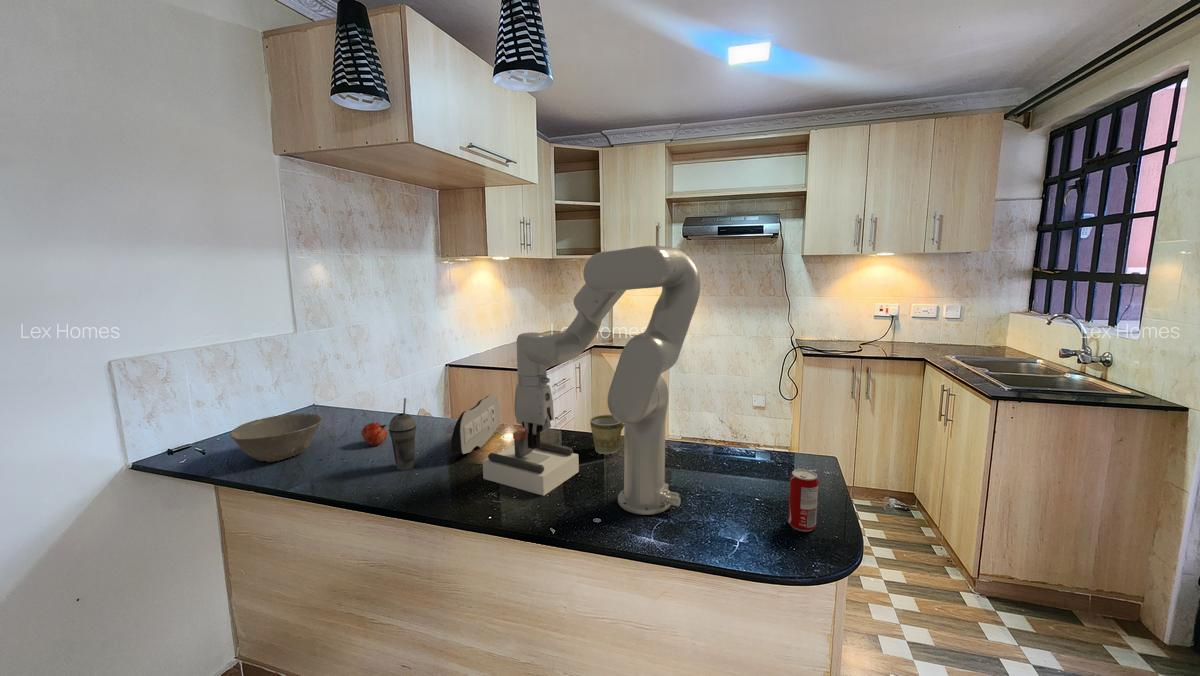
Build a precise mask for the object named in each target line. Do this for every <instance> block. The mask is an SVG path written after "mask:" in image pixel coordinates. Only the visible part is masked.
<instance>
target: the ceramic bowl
mask: <svg viewBox="0 0 1200 676" xmlns="http://www.w3.org/2000/svg"><path fill="white" fill-rule="evenodd" d="M322 421H323V418H322V417H321V416H320V415H318V414H315V413H296V414H295V413H291V414H290V413H289V414H279V415H273V416H268V417H263V418H260V419H255V420H251V421H248V422H246V423H243V424H241V425H239V426H237V427H235V428H233V430H232V431H231V432H230V438H231V439H232V440H233V441H234V442H235V443H236V444H237V446H239V448H240V449H241V450H242V451H243V452H244V453H245V454H246V455H248V456H250V458H253V459H255V460H257V461H260V462H263V461H266V462H265V463H276V462H275V461H278V462H280V461H279V460H282V461H284V460H283V459H285V460H287V459H286V458H288V459H290V458H293V457H296V456H297V455H300V454H301V453H303V452H304V451H305V450H307V448H308V447H309V446H310V443H311V441H312V439H313V437H314V435H315V433H316V431H317V430H318V428H319V427H320V425H321V424H322ZM299 453H300V454H299ZM292 456H293V457H292ZM289 457H290V458H289Z"/></svg>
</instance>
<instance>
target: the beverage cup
mask: <svg viewBox="0 0 1200 676" xmlns="http://www.w3.org/2000/svg"><path fill="white" fill-rule="evenodd" d="M406 406H407V398H406V397H404V398H403V409H402V411H403V412H402V413H397V414H396V415H394V416H393V417H392V418H391V420H390V422H389V426H388V433H389V436H390V438H391V444H392V448H393V449H392V451H393V455H394V461H395V465H396V469H397V470H399V471H407V470H411V469H412V468H414V466H415V449H416V447H415V443H416V442H415V440H416V438H415V437H416V431H417V424H416V420H415V418H414V417H412V416H411V415H410V414H409V413H406Z"/></svg>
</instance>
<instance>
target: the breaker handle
mask: <svg viewBox="0 0 1200 676" xmlns="http://www.w3.org/2000/svg"><path fill="white" fill-rule="evenodd" d="M512 439H513V440H514V444H513V445H515V457H518V458H520V457H522V456H524V455H526V454H528V453H530V452H531V451H533V449H531V448H528V436H527V433H526V432H525V428H524V427H523V428H521V429H519V430H517V431H514V432H513V433H512Z"/></svg>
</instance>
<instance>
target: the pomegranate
mask: <svg viewBox="0 0 1200 676" xmlns="http://www.w3.org/2000/svg"><path fill="white" fill-rule="evenodd" d="M385 427H388V425H387V424H381V423H378V422H377V423H376V422H370V423H368V424H366V425H364V427H363V428H362V430H361V432H360V434H361V436H362V437H363V440H364V441H363V443H364V444H365V443H368V444H369V445H370V446H379V445H380V444H382V443H383V442H384V441H385V440H386V439H387V437H388V431H387V428H385Z"/></svg>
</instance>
